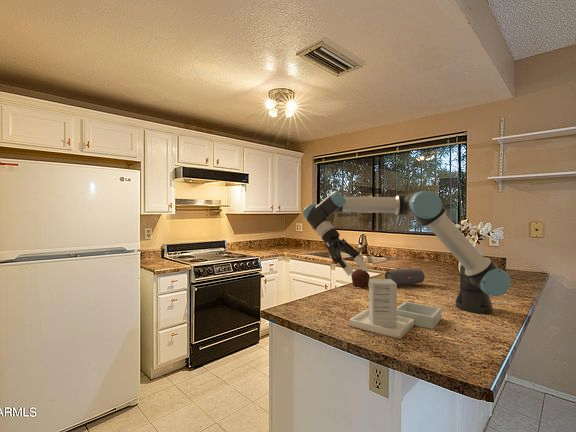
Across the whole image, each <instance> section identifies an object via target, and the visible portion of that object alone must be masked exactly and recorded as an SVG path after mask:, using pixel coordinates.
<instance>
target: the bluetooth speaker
mask: <svg viewBox="0 0 576 432" xmlns="http://www.w3.org/2000/svg"><path fill="white" fill-rule="evenodd" d="M384 279H391V280H393V281H394V282H395V283H396V284H397V287H411V286H413V285H414V284H415V285H417V284H422V283H423V282H425V273H424V271H423V270H422V269H417V268H412V269H411V268H410V269H409V268H407V269H406V268H404V269H392V270H387V271H385V274H384Z"/></svg>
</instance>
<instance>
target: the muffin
mask: <svg viewBox="0 0 576 432" xmlns="http://www.w3.org/2000/svg"><path fill="white" fill-rule="evenodd" d="M353 271H354V272H353V273H352V274H351V275H350V276H351V283H352V286H353V287H354V286H355V287H354V288H357V287H362V288H361V289H365V288H364V287H367V288H369V279H371V276H370V274H369V272H368V271H366V269H365V270H364V271H363V270H362V269H361V268H360V269H355V270H353Z"/></svg>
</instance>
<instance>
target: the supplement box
mask: <svg viewBox="0 0 576 432" xmlns="http://www.w3.org/2000/svg"><path fill="white" fill-rule="evenodd" d="M397 296H398V286H397V284H396V283H395V282H394V281H393V280H391V279H385V278H369V283H368V309H369V321H370V323H371V324H373V325H377V326H381V327H389V328H396V327H397V307H398V306H397V305H398V303H397V302H398V301H397V300H398V297H397Z"/></svg>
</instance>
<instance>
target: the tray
mask: <svg viewBox="0 0 576 432" xmlns="http://www.w3.org/2000/svg"><path fill="white" fill-rule="evenodd" d="M348 326H349V327H351V326H352V327H353V328H355V327H356V329H359V328H360V330H363V331H366V330H367V332H370V331H371V332H370V333H374V332H375V334H378V333H379V334H378V335H382V334H383V336H385V335H387V336H386V337H389V336H391V337H390V338H393V337H394V338H393V339H397V338H398V339H397V340H401V339H402V338H403V337H405V335H406V334H407V333H408V332H409V331H410V330H412V329H413V328H414V326H415V325H414V319H410V318H405V317H401V316H397V327H396V328H389V327H381V326H377V325H373V324H371V323H370V321H369V308H366V309H364V310H363V311H360V312H359V313H358V314H356V315H354V316H352V317H351V318H349V319H348Z"/></svg>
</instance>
